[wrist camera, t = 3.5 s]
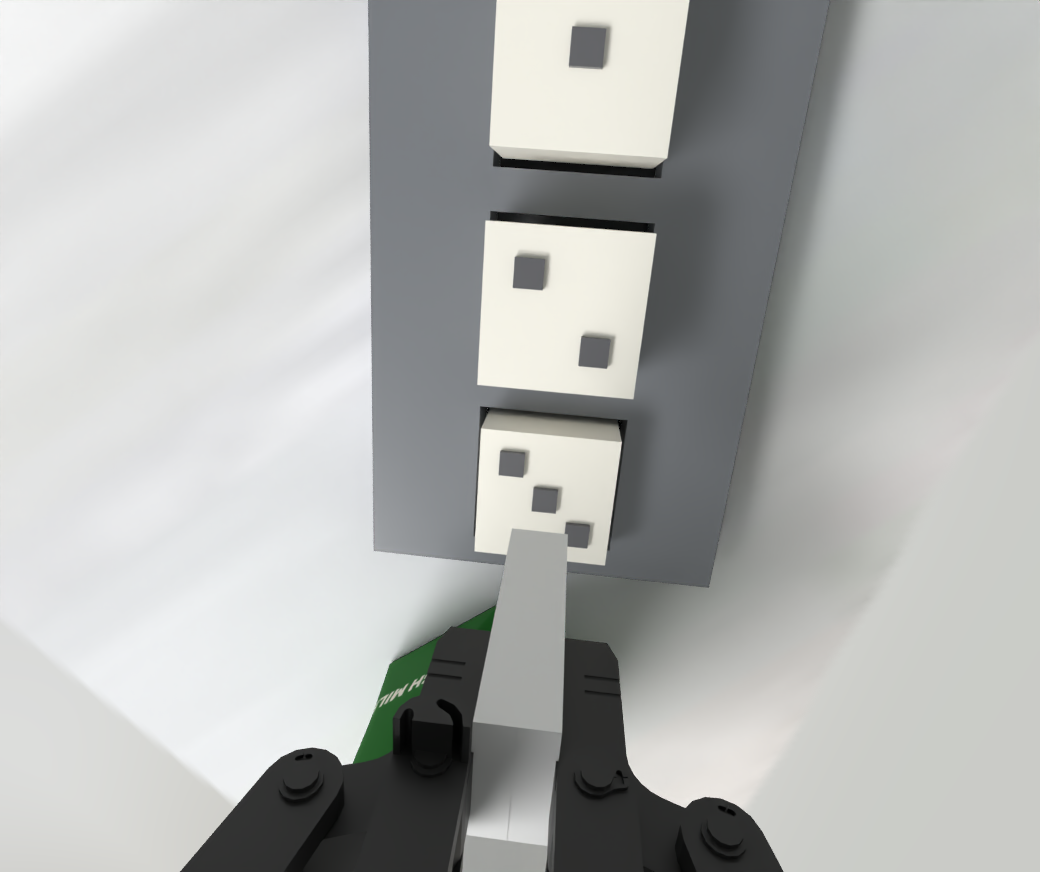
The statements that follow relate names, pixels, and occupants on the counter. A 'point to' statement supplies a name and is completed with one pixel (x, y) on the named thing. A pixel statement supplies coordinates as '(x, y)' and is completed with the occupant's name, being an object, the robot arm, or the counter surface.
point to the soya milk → (486, 862)
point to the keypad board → (657, 201)
